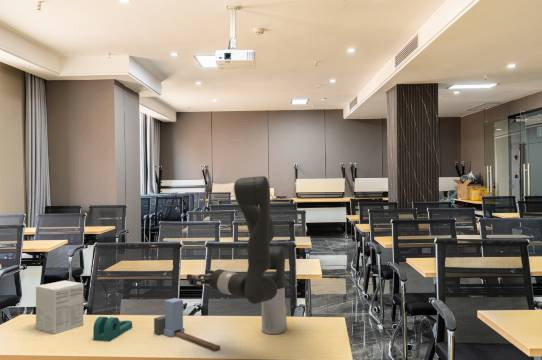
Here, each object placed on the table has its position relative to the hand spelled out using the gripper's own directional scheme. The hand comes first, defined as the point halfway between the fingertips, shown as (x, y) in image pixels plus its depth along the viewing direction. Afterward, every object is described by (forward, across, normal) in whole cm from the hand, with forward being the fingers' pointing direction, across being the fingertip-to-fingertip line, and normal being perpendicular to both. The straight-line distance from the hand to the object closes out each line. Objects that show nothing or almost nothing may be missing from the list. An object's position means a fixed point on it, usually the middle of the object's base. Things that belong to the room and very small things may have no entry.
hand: (197, 275), depth 152 cm
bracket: (+33, +16, +25) cm, 44 cm away
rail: (+2, +1, +25) cm, 25 cm away
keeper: (+14, +1, +25) cm, 29 cm away
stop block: (+18, +1, +25) cm, 31 cm away
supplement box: (+57, +27, +25) cm, 68 cm away
